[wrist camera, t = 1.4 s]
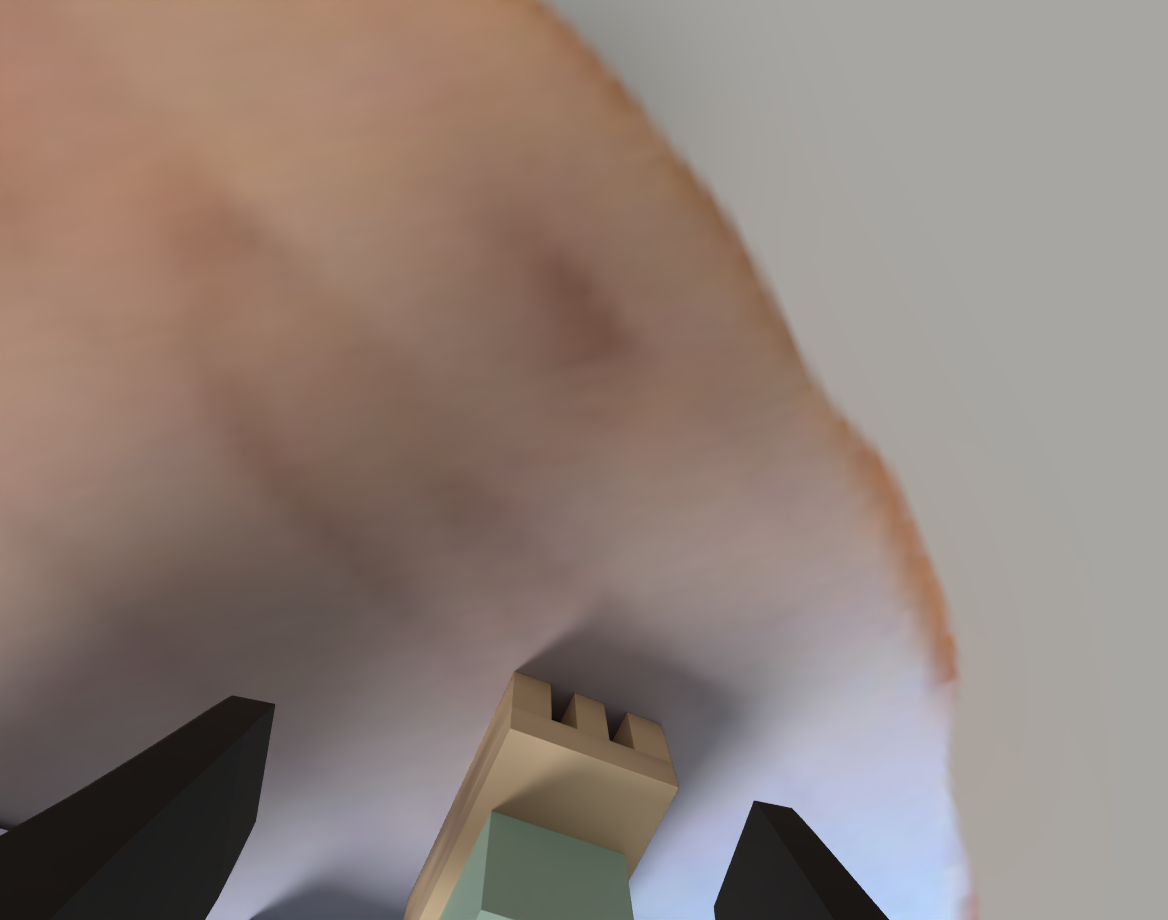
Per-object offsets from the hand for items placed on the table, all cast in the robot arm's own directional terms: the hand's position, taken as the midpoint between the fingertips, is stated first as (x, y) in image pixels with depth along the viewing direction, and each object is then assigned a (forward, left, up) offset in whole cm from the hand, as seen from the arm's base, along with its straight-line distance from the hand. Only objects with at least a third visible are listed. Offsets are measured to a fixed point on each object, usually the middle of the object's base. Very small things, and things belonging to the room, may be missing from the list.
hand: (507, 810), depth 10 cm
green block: (-8, -4, -7) cm, 11 cm away
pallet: (-8, -4, -10) cm, 13 cm away
